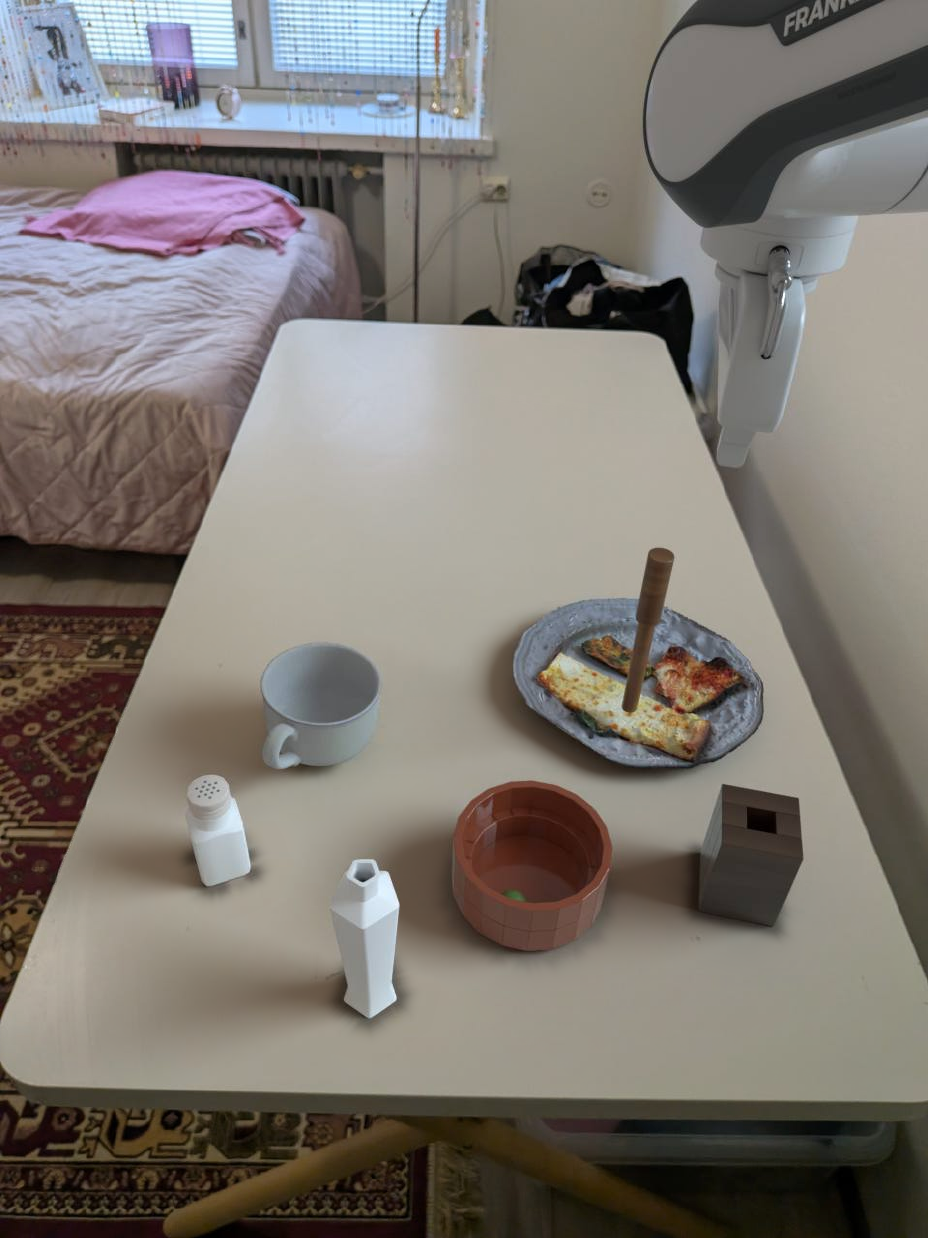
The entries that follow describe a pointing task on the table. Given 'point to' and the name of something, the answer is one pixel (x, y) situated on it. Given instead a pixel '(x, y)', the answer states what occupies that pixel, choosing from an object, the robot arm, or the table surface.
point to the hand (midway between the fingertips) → (728, 429)
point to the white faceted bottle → (366, 935)
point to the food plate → (671, 691)
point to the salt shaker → (216, 830)
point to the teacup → (318, 705)
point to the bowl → (530, 864)
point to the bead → (514, 895)
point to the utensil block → (750, 854)
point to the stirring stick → (647, 620)
